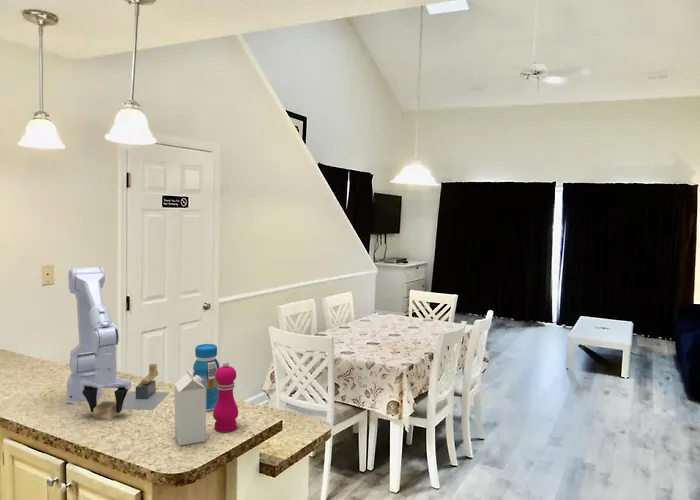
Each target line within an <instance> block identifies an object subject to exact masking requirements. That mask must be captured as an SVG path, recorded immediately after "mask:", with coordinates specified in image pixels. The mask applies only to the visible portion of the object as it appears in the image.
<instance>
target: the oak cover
mask: <svg viewBox="0 0 700 500" xmlns="http://www.w3.org/2000/svg"><path fill="white" fill-rule="evenodd" d="M92 413H93V421H95V420H97V421H111V420H112V419H113V418H114V417H116V416H117V415H118V414H119V413H117V412H116V401H101V402H100V403H99V404H97V406H96V407H95V408H94V409H93V412H92Z"/></svg>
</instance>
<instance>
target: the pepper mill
mask: <svg viewBox="0 0 700 500" xmlns="http://www.w3.org/2000/svg"><path fill="white" fill-rule="evenodd" d="M215 378H216V380H217V381H218V383H217V389H218V391H219V394H218V400H217V402H216V405H215V407H214V410H212V417H213V419H214V420H215V421H214V430H215V431H216V432H219V433H229V432H232V431H235V430H236V429H237V427H238V426H237V420H236V419H237V418H238V416H239V407H238V404H237V403H236V400H235V398H234V388H235V387H236V386H235V381H236V380H237V371H236V369H235V368H234V367H233V366H230V362H229V361H228V360H224V361H223V362H222V366H219V368H218V369H217V371H216V373H215Z"/></svg>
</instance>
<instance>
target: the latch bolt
mask: <svg viewBox="0 0 700 500" xmlns="http://www.w3.org/2000/svg"><path fill="white" fill-rule="evenodd" d="M158 375H159V371H158V364H157V363H149V366H148V374H147V375H146V376H145V377H144V378H143V379H141V381H140V383H141V384H148V383H149V382H150V381H154V380H155V378H157V376H158Z"/></svg>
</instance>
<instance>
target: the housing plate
mask: <svg viewBox="0 0 700 500" xmlns="http://www.w3.org/2000/svg"><path fill="white" fill-rule="evenodd" d="M156 384H157V383H156V380H152V381H150V382H149V383H148V384H141V382H139V384H138V385H136V386H135V391H129V390H128V392H127V394H126V396H125V399H124V402H123V406H122V410H127V411H128V410H133V411H135V410H136V411H154V410H155V409H156V408H157V406H159V405H160V403H162V402H163V401H164V400H165V398H166V397H167V396H168V395H170V393H171V392H169V391H156V386H157V385H156Z"/></svg>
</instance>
